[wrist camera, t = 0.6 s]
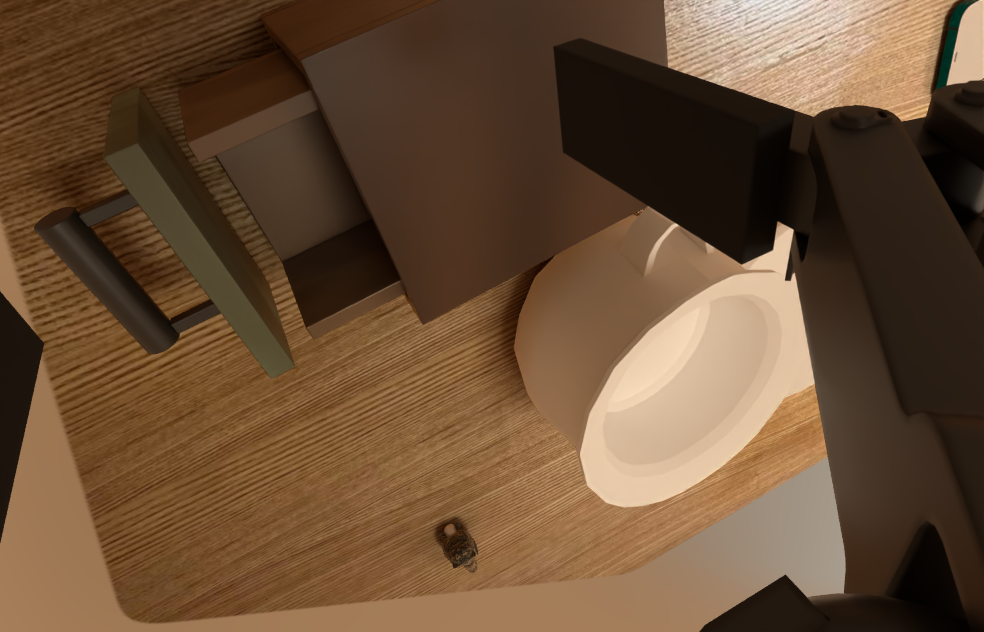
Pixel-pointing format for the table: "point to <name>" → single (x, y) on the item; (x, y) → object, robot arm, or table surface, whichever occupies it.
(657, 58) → the cabinet
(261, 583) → the table surface
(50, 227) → the drawer
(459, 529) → the cat figurine
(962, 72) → the smartphone
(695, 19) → the table surface
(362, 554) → the table surface
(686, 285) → the pot
